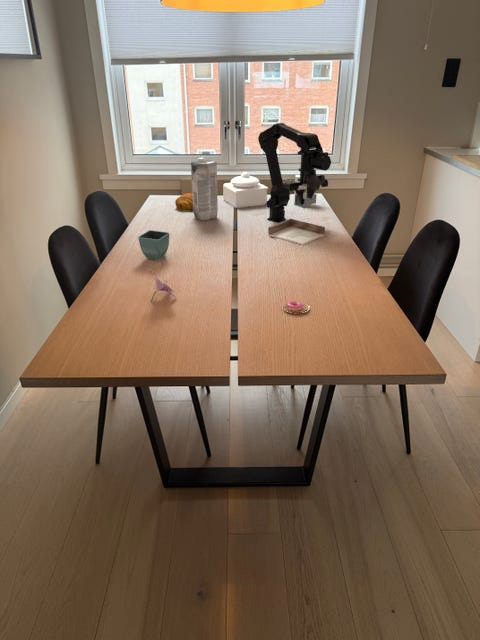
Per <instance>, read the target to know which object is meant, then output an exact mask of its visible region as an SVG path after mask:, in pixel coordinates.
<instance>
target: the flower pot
mask: <svg viewBox="0 0 480 640" xmlns="http://www.w3.org/2000/svg"><path fill="white" fill-rule="evenodd" d="M137 239H138V243H139V247H140V250H141V252H142V254H143V255H144V256H145V258H146V259H150V260H156V261H160V260H161V259H162V258H163V257H164V256H165V255H166V254H167V251H168V249H169V246H170V232H167V231H159V230H151V229H149V230H147V231H146V232H144V233H143V234H140V235H138V237H137Z"/></svg>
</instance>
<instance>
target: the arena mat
mask: <svg viewBox="0 0 480 640" xmlns="http://www.w3.org/2000/svg"><path fill="white" fill-rule="evenodd" d="M267 235H268V236H269V237H272V238H275V239H276V238H277V239H279V240H282V241H288V242H290V243H294V244H297V245H300V246H304V245H306V244H308V243H310V242H313V241H316V240H318V239H319V238H322V237H324V236H325V234H323V235H322V234H318V233H315V232H311V231H307V230H303V229H299V228H295V227H288V228H286V229H283V230H281V231H278V232H276V233H273V234H271V235H270V234H267Z"/></svg>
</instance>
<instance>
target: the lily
mask: <svg viewBox="0 0 480 640" xmlns="http://www.w3.org/2000/svg"><path fill="white" fill-rule="evenodd" d="M147 268H148V270H149V271H150V272H151V273H152V274H153V275H154V276H153V277H152V278H153V280H155V288H156V290H155V291H154V294H153V296H152V298H151V301H150V302H151V303H152V302H153V299H155V296H156V294H157V292H158V291H160V292H165V293H166V292H167V293H169V294H170V295H171V296H173V298H175V299H177V297H176V296H175V295H174V294H173V293H175V291H174V290H173V289H172V288H171V287H170V286H169V285H167V282H168V281H167V280H165V281H164V282H162V281H161V280H160V279H159V278H158V277H157V275H156V273H155V272H153V270H151V269H150V268H149V267H147ZM172 292H173V293H172Z"/></svg>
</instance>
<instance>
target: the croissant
mask: <svg viewBox="0 0 480 640" xmlns="http://www.w3.org/2000/svg"><path fill="white" fill-rule="evenodd" d="M174 202H175V203H174V204H175V207H176V209H177V210H179V211H185V212H187V211H188V212H194V211H193V196H192V192H187V193H184V194H182V195H180V196H179V197H177V198H176V199H175V201H174Z"/></svg>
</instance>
